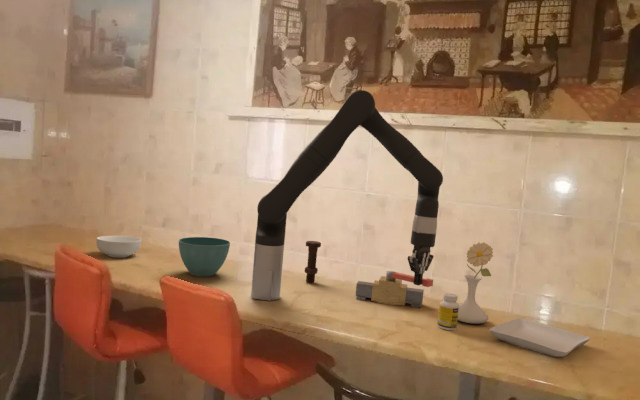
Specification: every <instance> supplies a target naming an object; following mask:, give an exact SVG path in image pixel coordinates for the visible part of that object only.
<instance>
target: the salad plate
mask: <svg viewBox="0 0 640 400" xmlns="http://www.w3.org/2000/svg"><path fill="white" fill-rule="evenodd" d="M488 330H489V333H490V334H492V336H493V337H495V338H497V339H498V340H501V341H503V342H504V343H507V344H510V345H513V346H516V345H517V347H519V346H520V348H524V349H525V350H526V349H527V350H529V349H530V351H534V352H536V351H537V353H539V354H540V353H541V354H544V355H546V354H547V356H550V355H551V356H552V357H557V358H563V357H566V356H567V355H568V354H569V353H571V352H572V351H574V350H575V349H577V348H579V347H581V346H583V345H585V344H586V343H587V342H589V341H590V339H591V337H590V336H587V335H583V334H580V333H576V332H572V331H569V330H566V329H562V328H560V327H559V328H558V327H555V326H551V325H548V324H544V323H539V322H535V321H532V320H528V319H524V318H519V317H517V318H514V319H511V320H509V321H505V322H503V323H500V324H498V325H496V326H492V327H490V328H489V329H488Z"/></svg>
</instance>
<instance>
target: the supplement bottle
mask: <svg viewBox="0 0 640 400" xmlns="http://www.w3.org/2000/svg"><path fill="white" fill-rule="evenodd" d="M442 299H443V300H441V301H440V303H439V310H438V318H437V327H438V328H439V329H442V330H447V331H455V330H456V329H457V325H458V320H457V318H458V310H459V305H460V304H459V303H458V295H457V294H455V293H449V292H445V293H443V296H442Z"/></svg>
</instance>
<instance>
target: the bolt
mask: <svg viewBox="0 0 640 400" xmlns="http://www.w3.org/2000/svg"><path fill="white" fill-rule="evenodd" d="M321 246H322V243H321V242H320V241H316V240H307V241H306V242H305V247H308V249H307V251H308V253H307V254H308V255H307V266H305V268H304V273H305V274H306V278H305V282H306V283H307V284H308V283H309V284H314V283H315V279H316V278H315V277H316V275H317V273H318V271H319V270H318V268H317V255H318V249H319V248H321Z"/></svg>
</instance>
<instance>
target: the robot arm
mask: <svg viewBox="0 0 640 400" xmlns="http://www.w3.org/2000/svg"><path fill="white" fill-rule="evenodd" d="M360 126H361V128H362V129H364V130H365V131H367V132H368V133H369V134H370V135H371V136H373V138H375V139H376V140H377V141H378V142H379V143H380V145H382V146H383V148H385V150H386V151H387V152H388V153H389V154H390V155H391V156H392V157H393V158H394V159H395V160H396V161H397V163H399V164H400V165H401V166H402V167H403V168H404V169H405V170H406V171H408V172H409V173H410V174H411V175H412V176H413V178H415V179H416V180H417V183H418V184H417V199H416V204H415V210H414V218H413V220H412V228H411V235H410V245H413V249H412V255H408V256H407V263H408V265H409V268H410V271H411V272H413V273H414V275H413V276H414V282H412V283H413V285H414V286H421V285H422V278H423V275H424V274H425V271H426V272H427V271H428V270H429V267H430V265H431V263H432V262H433V260H434V255H433V254H431V248H434V247H435V244H436V239H437V238H436V237H437V229H438V215H439V214H438V213H439V209H440V208H439V203H440V202H439V194H440V188H441V186H442V184H443V182H444V175H443V173H442V172H441V171H440V169H439V168H438V167H437V166H435V165H434V164H433V163H432V162H431V161H430V160H429V159H428V158H426V157H425V156H424V155H423V154H422V152H421V151H420V150H419V149H418V148H417V147H416V145H414V144H413V143H412V141H410V140H409V139H408V138H407V137H406V136H405V135H403V134H402V133H401V132H400V131H398V130H397V129H396V128H394V127H393V126H392V125H391V124H390V123H389V122H388V121H387V120H386V119H385V118H384V117H383V115H381V113H380V112H379V111H378V109H377V108H376V101H375V99H374V96H373V95H372V94H371V92H369V91H367V90H362V89H359V90H356V91H352V93H350V94H349V95H348V97H347V98H346V99H345V100H344V103H343V104H342V105H341V107H340V108H339V110H338V112H337V113H335V115H334V117H333V118H332V119H331V120H330V122H328V124H326V126H324V127H323V128H322V129H321V130H320V131H319V132H318V133H317V134H316V135H315V136H314V137H313V138H312V140H311V141H310V142H309V143H308V144H306V146H305V147H304V149H303V150H302V151H301V152H300V153H299V154H298V156H297V157H296V159H294V161H293V162H292V164H291V166H290V168H289V169H288V170H287V172H286V174H285V175H284V177H283V178H282V179H281V180H280V181H279V182H278V183H277V184H276V185H275V186H274V187H273V188H272V189H271V190H270V191H269V192H268V193H267V194H265V195H263V196H262V197H261V198H260V200H259V202H258V204H257V220H256V221H257V223H256V232H255V240H254V254H253V268H252V277H251V278H252V279H251V291H250V293H251V294H250V296H251V299H255V300H260V301H261V300H262V301H269V302H270V301H274V300H275V301H276V300H279V299H280V298H281V287H282V274H283V263H284V262H283V261H284V252H285V251H284V250H285V240H286V226H287V219H288V218H287V217H288V212H289V210H290V209H291V208H292V206H293V205H294V203H295V202H296V200H298V198H299V197H300V196H301V194H302V193H303V192H305V190H306V189H308V188H309V187H310V186H311V185H312V184H313V183H314V182H316V180H317V179H318V178H319V177H320V176H321V175H322V174H323V173H324V171H326V170H327V168H328V167H329V166H330V165H331V164H332V162H333V161H335V158H337V156H338V154H339V153H340V151H341V149H342V148H343V146H344V145H345V143H346V141H347V140H348V138H349V137H350V136H351V135H352V134H353V133H354V131H355V130H356V129H357V128H358V127H360ZM423 279H424V278H423Z"/></svg>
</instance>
